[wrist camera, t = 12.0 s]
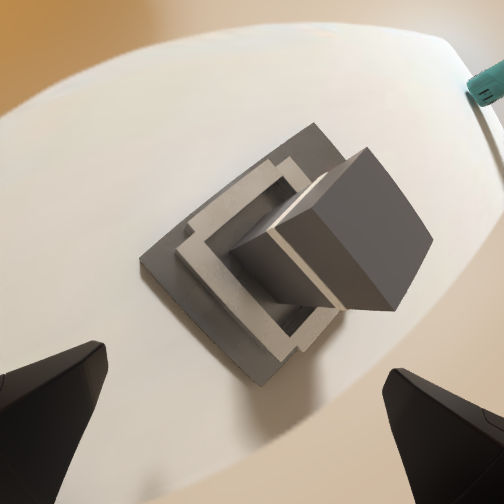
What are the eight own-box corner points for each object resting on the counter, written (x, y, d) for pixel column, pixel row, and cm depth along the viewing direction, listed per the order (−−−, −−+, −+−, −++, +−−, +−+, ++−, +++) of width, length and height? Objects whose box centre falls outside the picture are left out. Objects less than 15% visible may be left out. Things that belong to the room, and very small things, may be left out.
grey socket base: (256, 383, 20) (271, 395, 17) (139, 259, 18) (136, 254, 16) (387, 229, 26) (410, 223, 23) (308, 127, 24) (325, 111, 21)
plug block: (279, 304, 20) (394, 313, 10) (227, 251, 19) (309, 207, 9) (314, 263, 21) (434, 239, 11) (267, 212, 21) (366, 145, 10)
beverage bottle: (465, 99, 38) (536, 60, 20) (458, 78, 40) (522, 38, 21) (481, 116, 40) (549, 83, 21) (474, 94, 41) (536, 60, 23)
